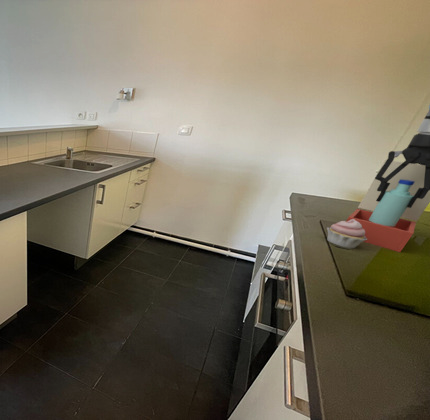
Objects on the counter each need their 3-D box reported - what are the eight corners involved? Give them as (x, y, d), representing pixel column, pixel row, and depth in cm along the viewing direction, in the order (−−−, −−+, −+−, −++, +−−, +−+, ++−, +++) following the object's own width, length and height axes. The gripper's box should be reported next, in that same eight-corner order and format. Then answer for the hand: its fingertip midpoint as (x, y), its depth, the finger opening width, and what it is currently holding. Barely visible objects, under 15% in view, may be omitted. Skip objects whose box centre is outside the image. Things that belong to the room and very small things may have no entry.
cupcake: (315, 236, 90) (328, 211, 86) (349, 242, 86) (364, 217, 82) (328, 248, 82) (343, 221, 78) (366, 255, 78) (384, 228, 74)
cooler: (398, 254, 80) (413, 233, 77) (337, 236, 91) (348, 217, 87) (402, 241, 89) (416, 222, 86) (346, 226, 100) (357, 208, 97)
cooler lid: (452, 168, 79) (452, 168, 80) (385, 160, 90) (385, 160, 91) (416, 221, 86) (416, 220, 86) (357, 207, 97) (358, 207, 97)
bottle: (390, 222, 88) (416, 180, 82) (398, 228, 83) (427, 184, 77) (365, 217, 91) (389, 177, 85) (372, 223, 87) (398, 180, 81)
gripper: (385, 131, 81) (350, 197, 90) (496, 138, 66) (441, 215, 75) (388, 131, 85) (354, 194, 94) (493, 137, 70) (441, 211, 79)
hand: (393, 203), depth 84 cm, fingers closed on bottle, 6 cm apart
